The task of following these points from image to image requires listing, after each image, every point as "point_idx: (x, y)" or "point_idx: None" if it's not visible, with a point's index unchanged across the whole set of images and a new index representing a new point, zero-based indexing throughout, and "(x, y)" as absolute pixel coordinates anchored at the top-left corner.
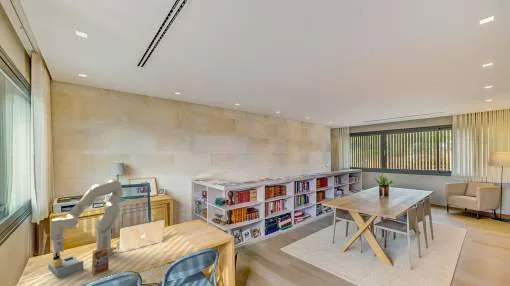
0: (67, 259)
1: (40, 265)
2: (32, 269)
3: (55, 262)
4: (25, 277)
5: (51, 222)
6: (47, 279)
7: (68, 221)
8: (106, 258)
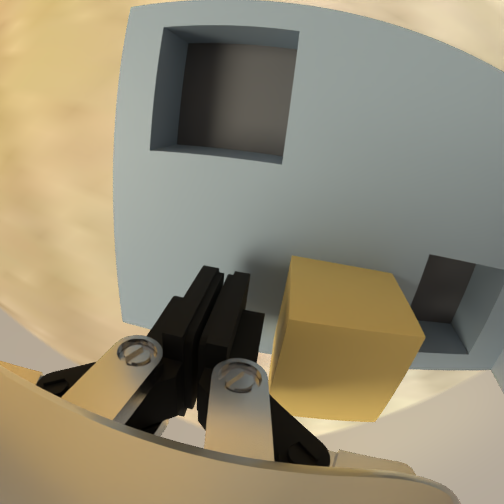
0: (163, 92)
1: (47, 294)
2: (85, 353)
3: (378, 410)
4: (201, 425)
5: None
6: (418, 384)
7: None
8: None
